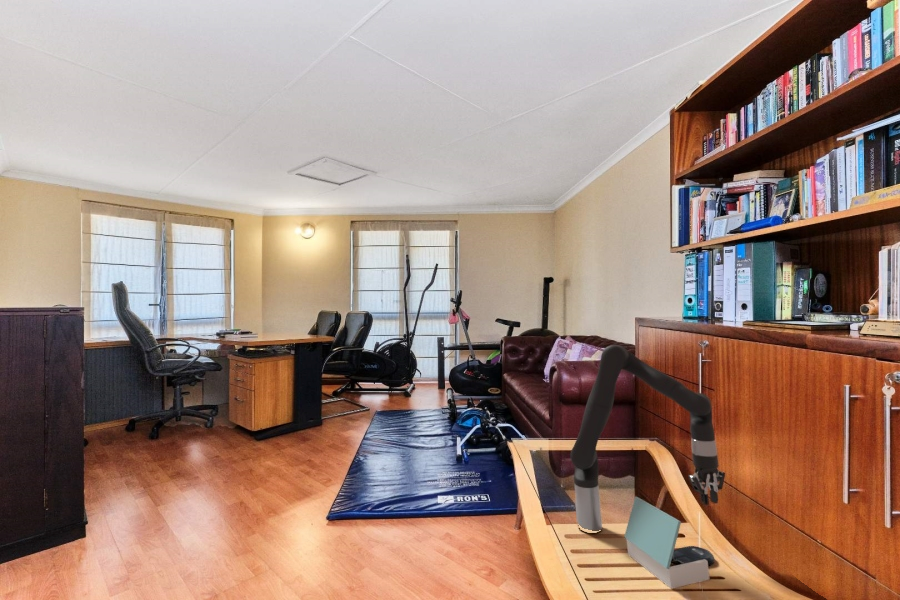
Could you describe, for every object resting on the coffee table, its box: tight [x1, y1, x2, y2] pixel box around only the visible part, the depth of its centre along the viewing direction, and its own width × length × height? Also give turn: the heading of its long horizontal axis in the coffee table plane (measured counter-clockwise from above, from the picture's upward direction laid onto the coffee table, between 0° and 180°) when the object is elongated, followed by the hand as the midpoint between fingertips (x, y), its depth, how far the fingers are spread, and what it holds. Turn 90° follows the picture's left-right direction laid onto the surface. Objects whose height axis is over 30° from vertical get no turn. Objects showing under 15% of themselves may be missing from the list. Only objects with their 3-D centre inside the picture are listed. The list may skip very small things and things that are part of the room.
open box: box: [626, 539, 710, 589], centre depth 130 cm, size 20×14×6 cm
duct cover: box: [624, 496, 682, 569], centre depth 130 cm, size 20×14×1 cm
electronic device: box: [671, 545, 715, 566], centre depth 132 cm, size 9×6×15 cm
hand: (709, 503), depth 136 cm, fingers open, 3 cm apart
